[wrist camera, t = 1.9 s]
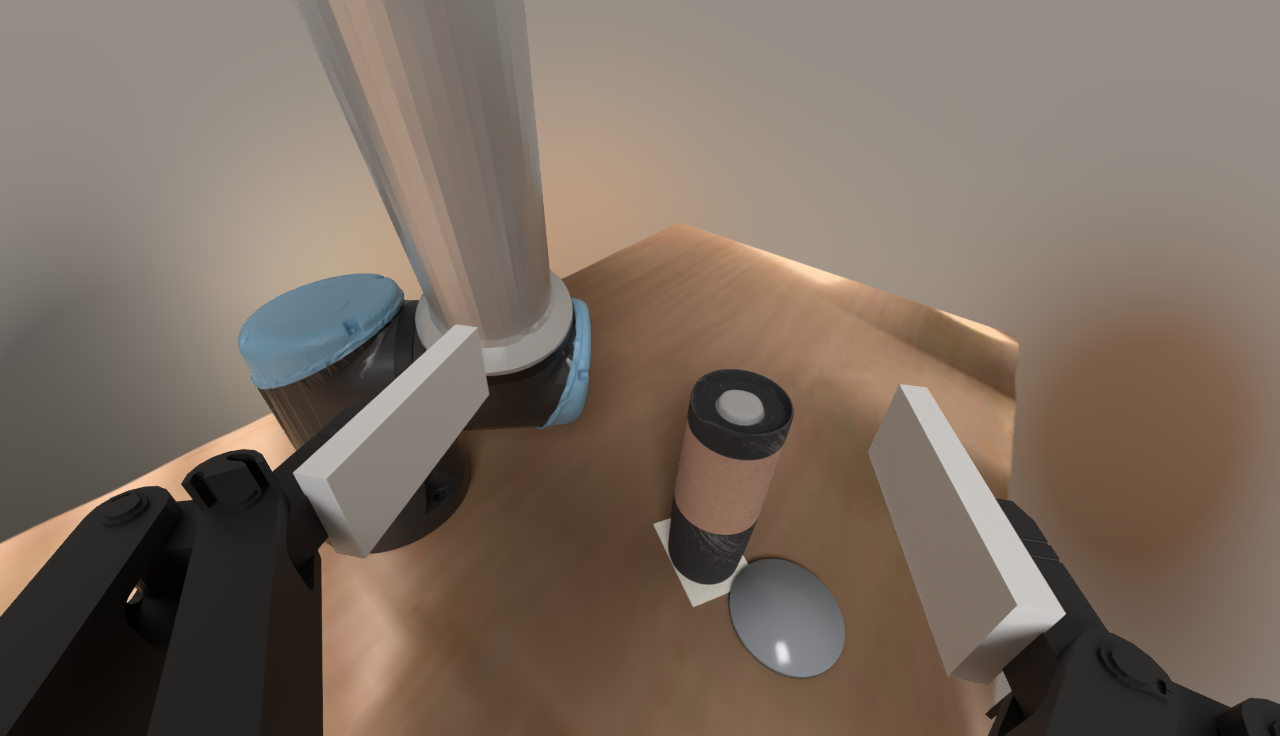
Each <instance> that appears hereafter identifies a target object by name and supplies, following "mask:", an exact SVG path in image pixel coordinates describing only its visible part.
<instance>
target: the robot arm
mask: <svg viewBox="0 0 1280 736" xmlns="http://www.w3.org/2000/svg"><path fill="white" fill-rule="evenodd" d="M293 1H294V3H295V5H296V8H297V10H298V12H299V14H300V17H301V19H302V21H303V23H304V25H305V28H306V30H307V32H308V35H309V37H310V39H311V41H312V44H313V46H314V48H315V50H316V53H317V55H318V57H319V59H320V62H321V64H322V66H323V68H324V70H325V73H326V75H327V77H328V79H329V82H330V84H331V86H332V88H333V91H334V93H335V95H336V97H337V100H338V102H339V103H340V106H341V109H342V111H343V113H344V115H345V118H346V120H347V122H348V124H349V126H350V129H351V131H352V133H353V135H354V138H355V140H356V142H357V144H358V147H359V149H360V151H361V153H362V155H363V158H364V160H365V162H366V165H367V167H368V169H369V171H370V173H371V176H372V178H373V180H374V183H375V185H376V187H377V189H378V192H379V194H380V196H381V198H382V200H383V203H384V205H385V207H386V209H387V212H388V214H389V216H390V218H391V221H392V223H393V225H394V227H395V230H396V232H397V234H398V236H399V239H400V240H401V243H402V245H403V248H404V250H405V252H406V254H407V256H408V259H409V261H410V263H411V265H412V268H413V270H414V272H415V274H416V277H417V279H418V281H419V284H420V286H421V288H422V290H423V292H424V293H423V295H422V296H421V298H420V300H404V293H403V291H402V290H401V289H400V288H399V287H398V285H397V284H396V283H395V282H394V281H393V280H392V279H390V278H387V277H386V278H385V277H384V276H381V275H377V274H350V275H343V276H337V277H332V278H328V279H323V280H320V281H316V282H313V283H310V284H307V285H304V286H301V287H298V288H296V289H294V290H291V291H289V292H286V293H284V294H282V295H280V296H278V297H276V298H275V299H273V300H271V301H269V302H268V303H266V304H265V305H263V306H262V307H260V308H259V309H258V310H257V311H255V312H254V313H253V314H252V315H251V316H250V317H249V318H248V319H247V321H246V322H245V323H244V325H243V327H242V328H241V331H240V333H239V338H238V344H239V349H240V352H241V354H242V356H243V358H244V360H245V362H246V364H247V366H248V369H249V371H250V373H251V380H252V383H253V384H254V385H255V387H257V388H258V390H259V391H260V393H261V394H262V396H263V398H264V399H265V401H266V402H267V404H268V406H269V408H270V409H271V411H272V413H273V414H274V416H275V417H276V419H277V421H278V422H279V424H280V426H281V427H282V429H283V430H284V432H285V434H286V435H287V437H288V439H289V440H290V442H291V444H292V445H293V447H294V448H295V450H296V452H295V453H294V454H292V455H291V456H290V457H289V458H288V459H287V460H285V461H284V462H283V463H282V464H281V465H280V466H279V467H277V468H276V469H275V470H274V471H273V472H272V470H271V469H270V467H269V465H268V464H267V462H266V460H265V458H264V457H263V455H262V454H261V453H259V452H257V451H255V450H246V449H241V450H235V451H229V452H226V453H223V454H220V455H217V456H215V457H212V458H210V459H208V460H207V461H205V462H203V463H201V464H199V465H198V466H197V467H195V468H194V469H193V470H192V471H191V472H189V473H188V474H187V475H186V477H185V479H184V480H183V482H182V483H181V485H182V486H183V487H184V489H185V490H186V491H187V493H188V494H189V495H190V497H191V498H192V499H193V500H188V501H177V502H176V501H175V499H174V498H173V497H172V496H171V494H170V493H169V492H168V491H167V489H164V488H162V487H159V486H148V487H141V488H137V489H133V490H129V491H126V492H124V493H121V494H119V495H117V496H115V497H112V498H110V499H109V500H107V501H105V502H104V503H102V504H101V505H99V506H97V507H96V508H95V509H94V510H92V511H91V512H90V513H89V514H88V515H87V516H86V517H85V518H84V519H83V520H82V521H81V522H80V524H79V525H78V526H77V527H76V528H75V529H74V531H73V532H72V533H71V534H70V535H69V537H68V538H67V539H66V540H65V541H64V542H63V544H62V545H61V546H60V547H59V548H58V549H57V551H56V552H55V553H54V554H53V555H52V557H51V558H50V559H49V560H48V561H47V562H46V564H45V565H44V566H43V567H42V568H41V570H40V571H39V572H38V573H37V574H36V575H35V577H34V578H33V579H32V580H31V581H30V583H29V584H28V585H27V586H26V587H25V588H24V590H23V591H22V592H21V593H20V594H19V595H18V597H17V598H16V599H15V600H14V601H13V603H12V604H11V605H10V606H9V607H8V608H7V610H6V611H5V612H4V613H3V614H2V616H1V617H0V736H323V683H322V589H321V557H320V554H319V552H318V549H319V547H320V546H321V545H322V544H323V543H324V542H326V543H328V544H329V545H331V546H333V548H334V550H335V551H336V553H340V554H345V555H350V556H355V557H360V558H366V557H367V556H368V554H370V553H379V552H385V551H389V550H393V549H397V548H400V547H403V546H405V545H408V544H410V543H412V542H415V541H417V540H419V539H421V538H422V537H424V536H426V535H427V534H429V533H431V532H432V531H433V530H435V529H436V528H438V527H439V526H440V525H441V524H443V523H444V522H445V521H446V520H447V519H448V518H449V517H450V516H451V515H452V514H453V513H454V511H455V510H456V509H457V508H458V506H459V505H460V503H461V502H462V500H463V498H464V496H465V494H466V492H467V489H468V485H469V480H470V471H469V466H468V462H467V458H466V454H465V452H464V449H463V447H462V446H461V444H460V443H459V441H458V440H457V439H456V438H457V436H458V435H459V434H460V433H461V431H463V430H483V429H504V428H524V427H535V428H537V429H545V428H546V427H548V426H554V425H564V424H569V423H572V422H574V421H575V420H577V419H578V418H579V416H580V415H581V414H582V412H583V409H584V406H585V402H586V398H587V392H588V383H589V374H588V371H589V367H590V360H591V326H590V315H589V310H588V307H587V305H586V303H585V302H583V301H582V300H579V299H575V298H573V297H571V296H570V294H569V292H568V289H567V287H566V286H565V284H564V283H563V281H562V280H561V279H560V278H559V277H558V276H557V275H556V274H555V273H553V272H552V271H551V270H550V269H549V260H548V259H549V258H548V248H547V237H546V228H545V227H546V226H545V216H544V205H543V195H542V184H541V174H540V164H539V152H538V142H537V131H536V120H535V111H534V99H533V90H532V79H531V68H530V57H529V47H528V36H527V25H526V15H525V4H524V0H293ZM868 454H869V456H870V459H871V462H872V465H873V468H874V470H875V473H876V476H877V479H878V482H879V485H880V487H881V490H882V493H883V496H884V499H885V501H886V504H887V507H888V510H889V513H890V515H891V518H892V521H893V524H894V527H895V530H896V532H897V535H898V538H899V541H900V544H901V546H902V549H903V552H904V555H905V558H906V560H907V563H908V566H909V569H910V572H911V574H912V577H913V580H914V583H915V586H916V589H917V591H918V594H919V597H920V600H921V603H922V605H923V608H924V611H925V614H926V617H927V619H928V622H929V625H930V628H931V631H932V634H933V636H934V639H935V642H936V645H937V648H938V650H939V653H940V656H941V659H942V662H943V664H944V667H945V670H946V673H947V676H948V677H953V678H958V679H963V680H968V681H973V682H977V683H982V684H987V685H988V684H989V683H990V682H991V681H992V680H993V679H994V678H995V677H997V676H998V675H999V674H1000V673H1001V672H1002V671H1003V672H1004V674H1005V676H1006V679H1007V681H1008V683H1009V685H1010V687H1011V690H1012V691H1011V692H1010V693H1009V694H1008V695H1007V696H1005V697H1004V698H1003V699H1002V700H1001V701H999V702H998V703H997V704H996V705H994V706H993V707H992V708H991V709H990V710H989V711H988V712H987V713H986V714H985V715H987V716H988V717H989V718H990V719H993V718H994V717H995V716H996V715H997V716H996V718H995V721H994V723H993V725H992V728H991V730H990V732H989V735H988V736H1280V704H1278V703H1275V702H1272V701H1270V700H1267V699H1258V698H1249V699H1247V700H1245V701H1243V702H1241V703H1239V704H1237V705H1236V706H1234V707H1232V708H1231V707H1228V706H1226V705H1224V704H1221V703H1219V702H1217V701H1214V700H1212V699H1210V698H1208V697H1206V696H1203V695H1201V694H1199V693H1197V692H1194V691H1192V690H1190V689H1187V688H1185V687H1183V686H1181V685H1179V684H1176V683H1174V682H1172V681H1171V680H1170V678H1169V676H1168V675H1167V673H1165V672H1164V670H1163V669H1162V668H1161V667H1160V666H1159V665H1158V664H1157V663H1156V662H1155V661H1154V660H1153V659H1152V658H1151V657H1150V656H1149V655H1147V654H1146V653H1145V652H1143V651H1142V650H1141V649H1139V648H1138V647H1137V646H1135V645H1134V644H1132V643H1131V642H1129V641H1127V640H1125V639H1123V638H1121V637H1119V636H1117V635H1115V634H1113V633H1109V632H1108V630H1107V629H1106V628H1105V626H1104V625H1103V623H1102V622H1101V620H1100V619H1099V617H1098V616H1097V614H1096V613H1095V611H1094V610H1093V608H1092V607H1091V605H1090V604H1089V602H1088V601H1087V599H1086V598H1085V596H1084V595H1083V593H1082V592H1081V590H1080V589H1079V587H1078V586H1077V584H1076V583H1075V581H1074V580H1073V578H1072V577H1071V575H1070V574H1069V573H1068V571H1067V569H1066V568H1065V566H1064V565H1063V564H1062V563H1060V562H1059V558H1058V556H1057V554H1056V553H1055V552H1054V550H1053V549H1052V547H1051V546H1050V545H1048V544H1047V540H1046V538H1045V537H1044V535H1043V534H1042V532H1041V531H1040V529H1039V528H1038V526H1037V525H1036V523H1035V522H1034V521H1033V519H1031V518H1030V517H1029V516H1028V515H1027V514H1026V513H1025V512H1024V511H1023V510H1021V509H1020V508H1019V507H1018V506H1017V505H1016V504H1015V503H1014V502H1013V501H1008V500H1002V499H996V498H994V496H993V494H992V493H991V491H990V490H989V488H988V486H987V485H986V483H985V481H984V480H983V478H982V477H981V475H980V473H979V472H978V470H977V468H976V467H975V465H974V463H973V462H972V460H971V459H970V457H969V455H968V454H967V452H966V450H965V449H964V447H963V446H962V444H961V442H960V441H959V439H958V437H957V436H956V434H955V433H954V431H953V429H952V428H951V426H950V424H949V423H948V421H947V420H946V418H945V416H944V415H943V413H942V411H941V410H940V408H939V407H938V405H937V403H936V402H935V400H934V398H933V397H932V395H931V394H930V392H929V390H928V389H927V388H925V387H917V386H910V385H902V384H899V386H898V388H897V390H896V393H895V395H894V397H893V399H892V401H891V403H890V406H889V408H888V410H887V412H886V414H885V416H884V419H883V421H882V423H881V425H880V427H879V429H878V432H877V434H876V436H875V438H874V440H873V442H872V444H871V447H870V449H869V451H868ZM134 588H136V589H137V591H136V593H135V594H134V596H133V597H132V599H131V600H130V601H129V602H128V603H127V600H128V597H129V595H130V594H131V592H132V591H133V589H134Z"/></svg>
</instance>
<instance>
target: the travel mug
mask: <svg viewBox="0 0 1280 736" xmlns="http://www.w3.org/2000/svg"><path fill="white" fill-rule="evenodd" d="M793 414H794V409H793V404H792V401H791V399H790V397H789V396H788V394H787V393H786V392H785V391H784V390H783V389H782V388H781V387H780V386H779V385H778V384H776V383H775V382H773V381H772V380H770V379H768V378H766V377H764V376H762V375H759V374H756V373H753V372H750V371H745V370H738V369H724V370H718V371H714V372H711V373H708V374H706V375H704V376H703V377H701V378H700V379H699V380H698V381H697V382H696V384H695V385H694V387H693V390H692V393H691V399H690V404H689V410H688V416H687V421H686V427H685V432H684V438H683V443H682V449H681V454H680V460H679V466H678V471H677V477H676V482H675V488H674V496H673V505H672V513H671V522H670V531H669V541H668V551H669V556H670V558H671V561H672V563H673V565H674V566H675V568H676V569H677V570H678V571H679V572H680V573H681V574H682V575H683V576H684V577H686V578H687V579H689V580H691V581H693V582H695V583H699V584H704V585H713V584H718V583H721V582H723V581H725V580H727V579H728V578H729V577H730V576H731V575H732V574H733V573H734V572H735V570H736V568H737V567H738V564H739V562H740V560H741V557H742V555H743V553H744V550H745V548H746V546H747V543H748V541H749V539H750V536H751V534H752V532H753V529H754V527H755V524H756V522H757V520H758V517H759V515H760V512H761V509H762V506H763V504H764V501H765V498H766V495H767V492H768V489H769V486H770V483H771V480H772V478H773V475H774V472H775V469H776V466H777V463H778V460H779V457H780V454H781V452H782V449H783V446H784V443H785V440H786V437H787V434H788V431H789V429H790V426H791V423H792V419H793Z"/></svg>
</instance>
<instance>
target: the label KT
mask: <svg viewBox="0 0 1280 736" xmlns="http://www.w3.org/2000/svg"><path fill="white" fill-rule="evenodd" d="M670 522H671V518H670V519H666V520H663V521H660V522H657V523H654V524H653V526H654V528H655V530H656V532H657V534H658V536H659V538H660V540H661V542H662V544H663V546H664V548H665V550H666V553H667V555H668V557H669V559H670V561H671V558H670V556H669V551H668V541H669V531H670ZM671 563H672V561H671ZM672 565H673V563H672ZM747 565H749V564H748V563H747V561H746V560H745V558H744V556H743V555H742V557H741V560H740V562H739V564H738V567H737V568H736V570H735V572H734V573H733V574H732V575H731V576H730V577H729V578H728V579H727V580H725V581H723V582H721V583H718V584H713V585H704V584H699V583H695V582H693V581H691V580H689V579H687V578H686V577H684V576H683V575H682V574H681V573H680V572H679V571H678V570H677V569H676V568H675V566H674V565H673V567H674V569H675V571H676V573H677V575H678V577H679V580H680V582H681V584H682V586H683V588H684V590H685V592H686V594H687V596H688V598H689V600H690V602H691V604H692V606H693V607H695V606H697V605H700V604H702V603H705V602H707V601H710V600H712V599H715V598H717V597H719V596H722V595H724V594H727V593H729V592H730V591H731V588H732V585H733V582H734V580H735V579H736V577H737V575H738V574H739V573H740V571H741V570H742V569H744V568H745V567H746V566H747Z"/></svg>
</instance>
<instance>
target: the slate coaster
mask: <svg viewBox="0 0 1280 736" xmlns="http://www.w3.org/2000/svg"><path fill="white" fill-rule="evenodd" d="M729 613H730V617H731V621H732V624H733V627H734V630H735V632H736V634H737V636H738V638H739V639H740V641H741V643H742V644H743V646H744V647H745V648H746V650H747V651H748V652H749V653H750V654H751V655H752V656H753V657H754V658H755V659H756V660H757V661H758V662H760V663H761V664H762V665H764V666H765V667H767V668H768V669H770V670H772V671H774V672H776V673H778V674H781V675H783V676H787V677H791V678H800V679H801V678H811V677H815V676H818V675H820V674H822V673H824V672H825V671H827V670H828V669H829V668H830V667H831V666H832V665H833V664H834V663H835V662H836V660H837V659H838V657H839V656H840V654H841V651H842V649H843V645H844V639H845V628H844V621H843V617H842V614H841V611H840V609H839V606H838V604H837V602H836V600H835V598H834V597H833V595H832V594H831V592H830V591H829V590H828V589H827V587H826V586H825V585H824V584H823V583H822V582H821V581H820V580H819V579H818V578H817V577H816V576H815V575H813V574H812V573H811V572H809V571H808V570H806V569H804V568H803V567H801V566H799V565H797V564H794V563H792V562H789V561H785V560H781V559H763V560H758V561H755V562H753V563H751V564H749V565H747V566H746V567H745V568H744V569H742V570H741V571H740V573H739V574H738V575H737V577H736V579H735V580H734V582H733V585H732V588H731V591H730V596H729Z"/></svg>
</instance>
